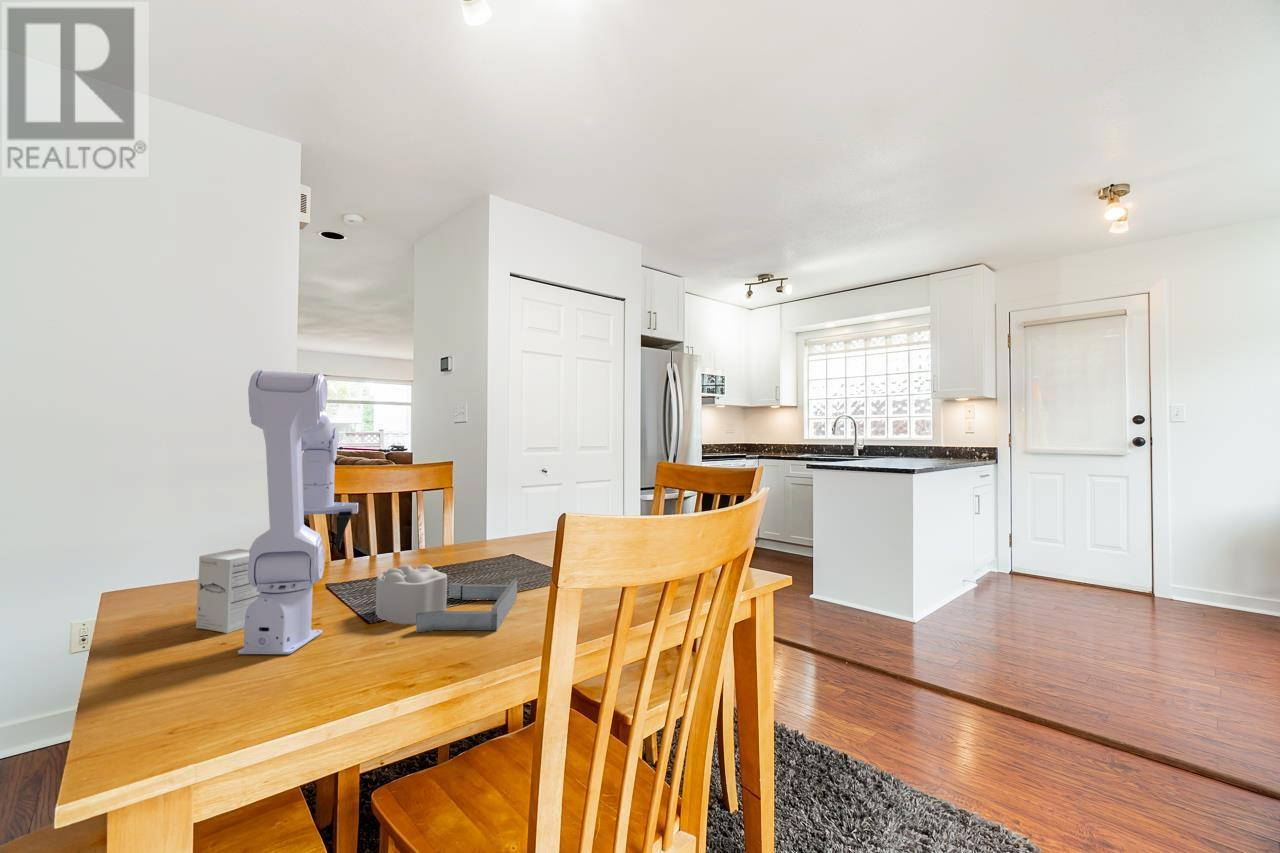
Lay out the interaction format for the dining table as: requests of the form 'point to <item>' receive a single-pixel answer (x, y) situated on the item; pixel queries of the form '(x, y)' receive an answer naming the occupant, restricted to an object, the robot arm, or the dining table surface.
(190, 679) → the dining table surface
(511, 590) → the bracket
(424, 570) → the lumpy-topped squat cylinder
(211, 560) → the supplement box
